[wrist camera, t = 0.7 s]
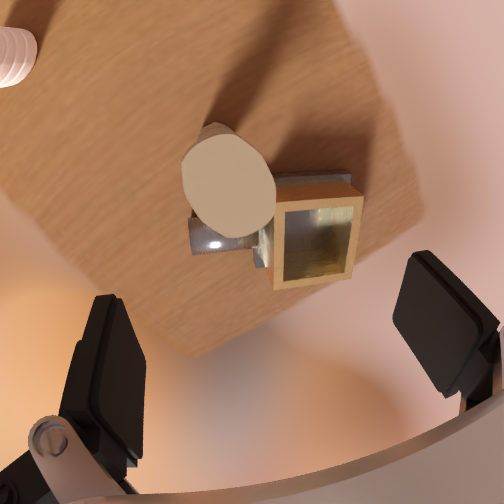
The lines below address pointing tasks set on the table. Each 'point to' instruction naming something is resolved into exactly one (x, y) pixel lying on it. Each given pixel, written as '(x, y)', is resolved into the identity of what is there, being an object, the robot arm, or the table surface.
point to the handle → (228, 182)
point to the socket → (299, 230)
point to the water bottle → (16, 55)
